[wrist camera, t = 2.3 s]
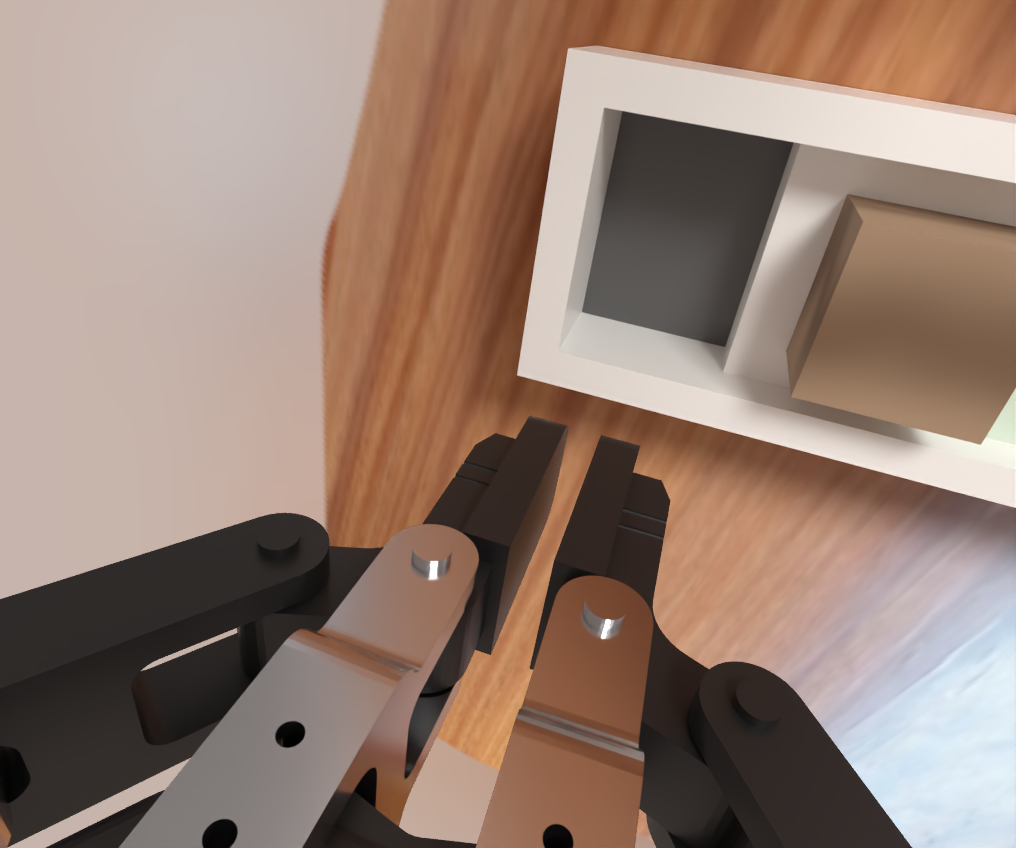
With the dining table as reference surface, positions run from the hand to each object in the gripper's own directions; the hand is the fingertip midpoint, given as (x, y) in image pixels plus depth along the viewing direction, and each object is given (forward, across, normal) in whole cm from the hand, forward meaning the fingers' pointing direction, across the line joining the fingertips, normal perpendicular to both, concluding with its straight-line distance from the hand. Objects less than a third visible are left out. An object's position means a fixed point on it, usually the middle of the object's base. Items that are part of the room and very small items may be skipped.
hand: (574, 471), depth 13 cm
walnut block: (+16, -8, 0) cm, 18 cm away
